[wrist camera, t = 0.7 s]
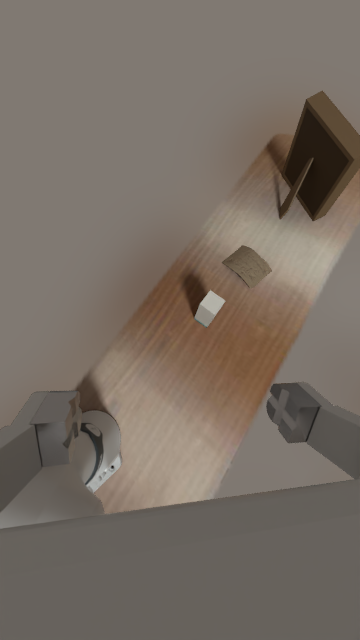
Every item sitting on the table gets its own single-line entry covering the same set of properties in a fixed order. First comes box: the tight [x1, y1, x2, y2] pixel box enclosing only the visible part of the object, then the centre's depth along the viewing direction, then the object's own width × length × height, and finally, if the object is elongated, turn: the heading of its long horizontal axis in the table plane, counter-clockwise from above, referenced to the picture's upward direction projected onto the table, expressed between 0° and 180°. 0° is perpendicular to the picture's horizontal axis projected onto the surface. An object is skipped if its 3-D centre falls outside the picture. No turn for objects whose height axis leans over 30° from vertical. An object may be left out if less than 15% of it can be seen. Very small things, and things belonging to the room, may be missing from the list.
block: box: [194, 290, 225, 328], centre depth 60 cm, size 4×4×13 cm
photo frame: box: [280, 91, 360, 221], centre depth 67 cm, size 15×22×25 cm
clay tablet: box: [222, 246, 272, 288], centre depth 70 cm, size 15×10×3 cm
